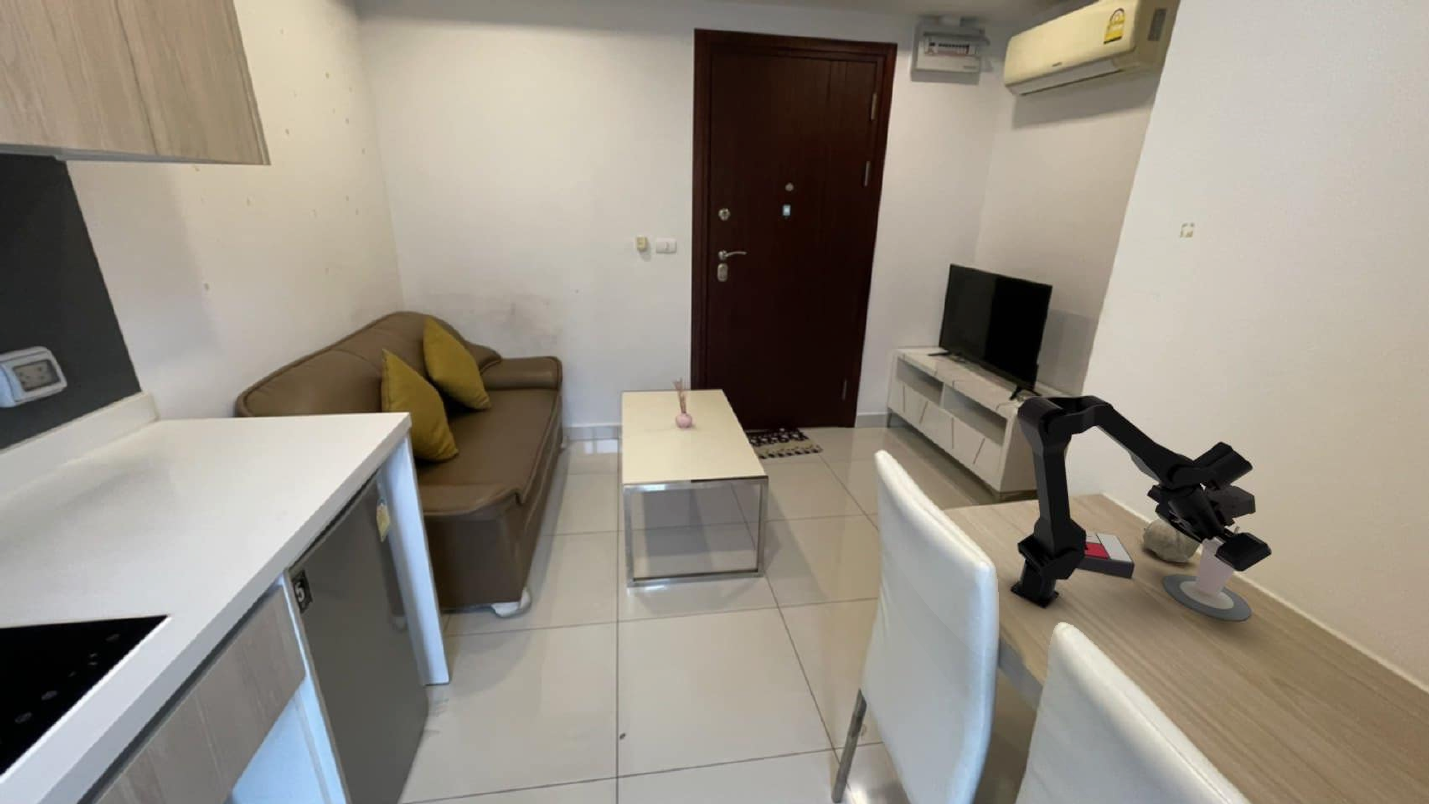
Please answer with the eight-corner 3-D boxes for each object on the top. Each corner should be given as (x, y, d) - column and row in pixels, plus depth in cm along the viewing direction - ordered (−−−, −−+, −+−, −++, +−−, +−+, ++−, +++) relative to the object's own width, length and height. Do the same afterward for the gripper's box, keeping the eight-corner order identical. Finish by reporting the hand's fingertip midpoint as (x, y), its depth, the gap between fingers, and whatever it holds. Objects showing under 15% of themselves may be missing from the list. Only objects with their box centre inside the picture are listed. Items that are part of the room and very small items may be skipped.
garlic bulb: (1185, 574, 120) (1220, 545, 114) (1149, 567, 119) (1182, 538, 113) (1160, 539, 127) (1191, 509, 121) (1125, 532, 127) (1155, 502, 121)
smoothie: (1227, 604, 104) (1257, 540, 99) (1184, 588, 108) (1210, 525, 103) (1229, 589, 109) (1257, 526, 104) (1187, 573, 113) (1212, 512, 108)
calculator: (1040, 522, 126) (1118, 533, 122) (1036, 539, 128) (1113, 550, 124) (1051, 548, 117) (1136, 561, 112) (1047, 566, 118) (1131, 580, 114)
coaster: (1241, 631, 100) (1243, 628, 100) (1154, 592, 110) (1155, 589, 109) (1256, 602, 108) (1258, 599, 108) (1173, 568, 118) (1174, 565, 117)
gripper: (1283, 502, 91) (1320, 562, 95) (1189, 453, 109) (1224, 506, 113) (1218, 542, 94) (1258, 599, 98) (1137, 488, 111) (1173, 539, 115)
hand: (1227, 557), depth 106 cm, fingers closed on smoothie, 6 cm apart
